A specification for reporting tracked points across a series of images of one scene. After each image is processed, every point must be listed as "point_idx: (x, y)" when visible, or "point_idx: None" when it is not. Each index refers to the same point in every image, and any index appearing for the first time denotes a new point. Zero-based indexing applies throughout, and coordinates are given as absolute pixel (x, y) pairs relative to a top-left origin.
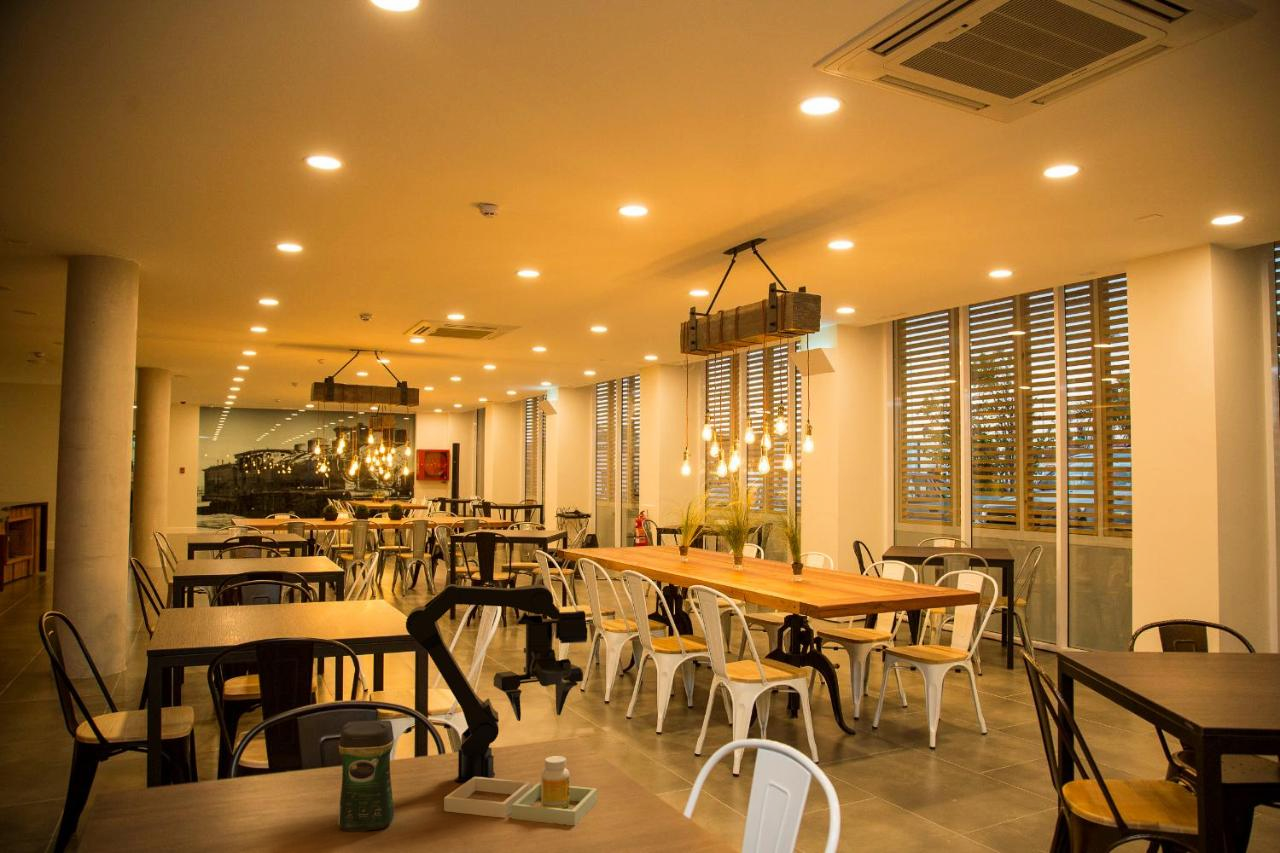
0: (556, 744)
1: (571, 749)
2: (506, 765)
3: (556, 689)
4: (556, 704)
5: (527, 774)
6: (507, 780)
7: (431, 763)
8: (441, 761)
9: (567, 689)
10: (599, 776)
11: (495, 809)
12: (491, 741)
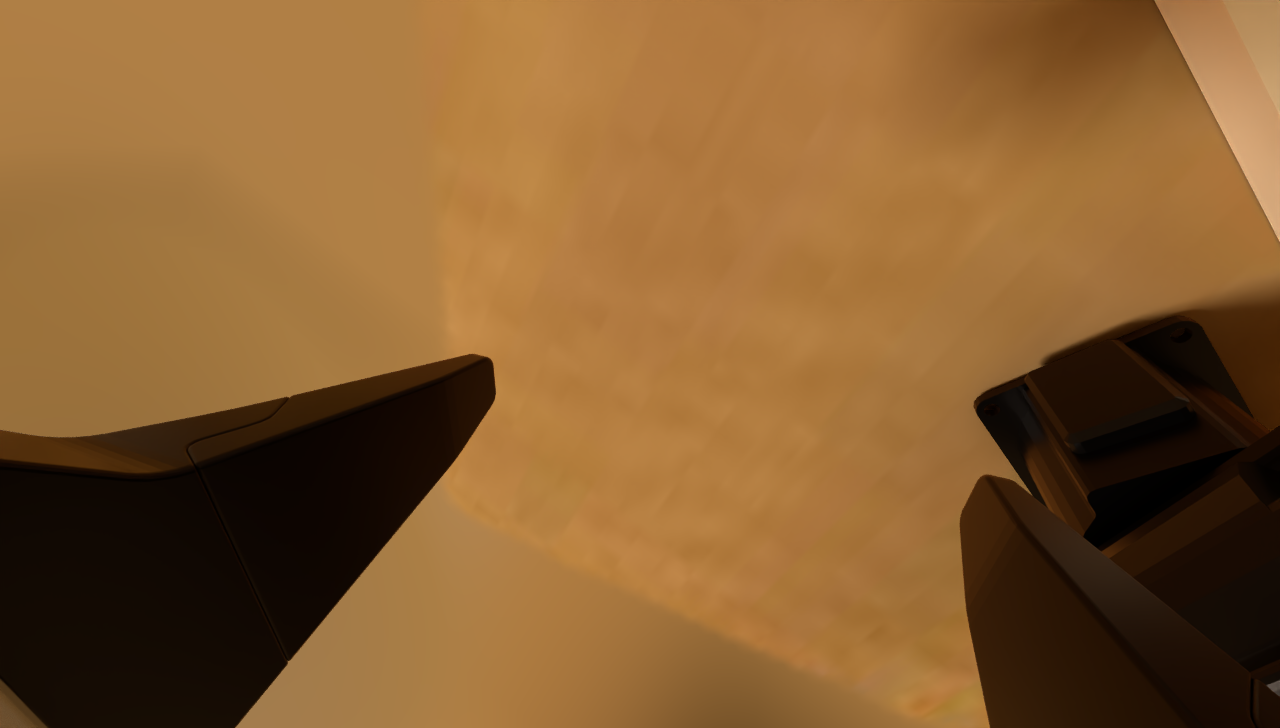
0: (518, 514)
1: (491, 439)
2: (817, 470)
3: (276, 642)
4: (431, 469)
5: (816, 301)
6: (1270, 30)
7: None
8: None
9: (42, 446)
10: (509, 17)
11: None
12: (1265, 473)
